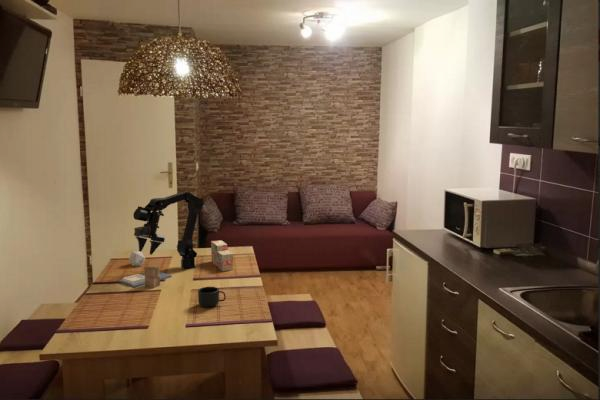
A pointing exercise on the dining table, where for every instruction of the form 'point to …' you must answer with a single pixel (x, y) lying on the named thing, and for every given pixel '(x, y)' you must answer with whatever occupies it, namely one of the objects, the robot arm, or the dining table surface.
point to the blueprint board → (140, 279)
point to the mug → (209, 296)
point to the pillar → (152, 276)
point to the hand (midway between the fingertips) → (145, 252)
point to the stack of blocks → (221, 255)
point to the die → (137, 258)
